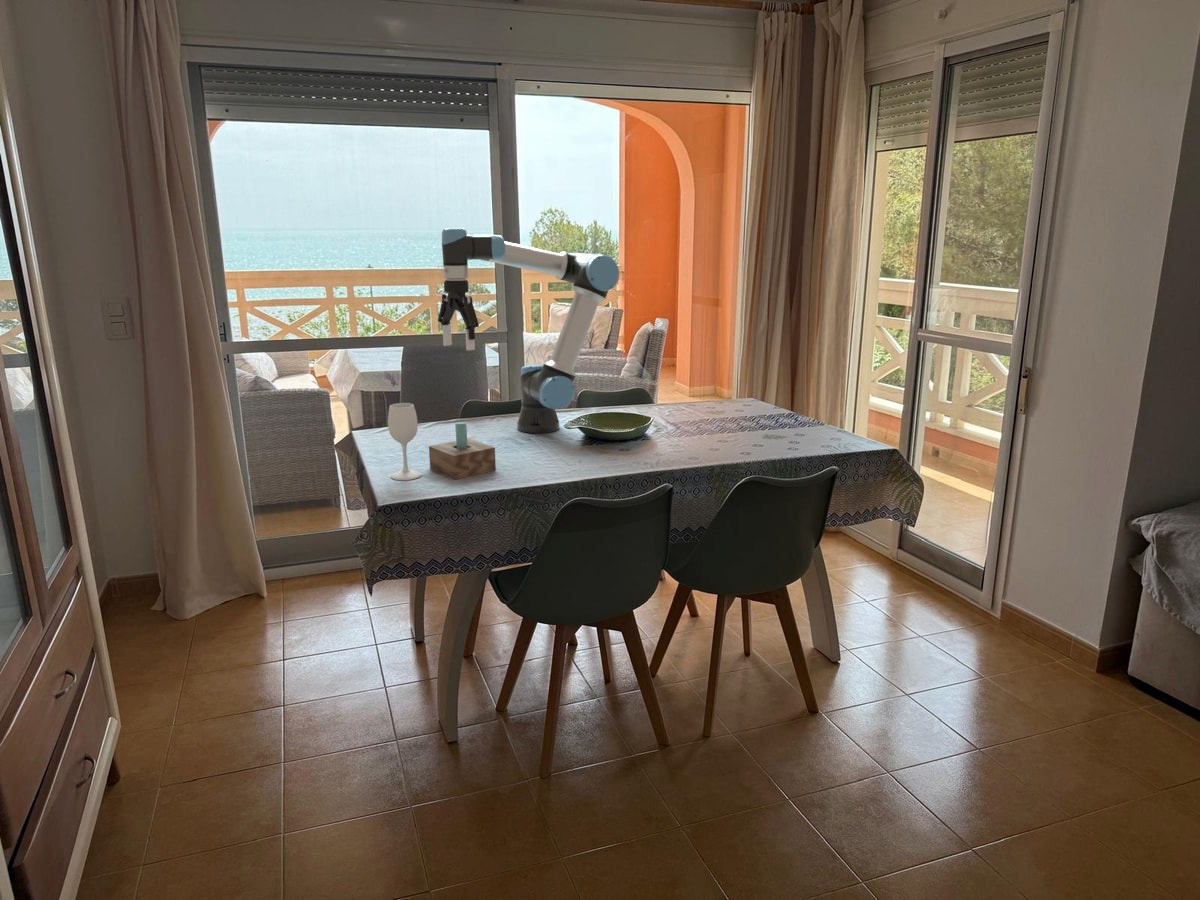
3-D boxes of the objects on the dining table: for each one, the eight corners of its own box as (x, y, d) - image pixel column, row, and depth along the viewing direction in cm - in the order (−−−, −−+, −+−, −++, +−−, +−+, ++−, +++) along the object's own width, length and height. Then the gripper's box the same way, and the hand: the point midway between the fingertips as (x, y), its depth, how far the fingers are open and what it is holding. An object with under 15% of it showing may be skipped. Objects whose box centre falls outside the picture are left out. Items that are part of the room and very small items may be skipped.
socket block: (470, 460, 248) (469, 438, 246) (495, 470, 238) (494, 447, 236) (430, 468, 239) (428, 446, 238) (455, 479, 229) (453, 455, 227)
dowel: (464, 461, 240) (462, 421, 237) (470, 463, 238) (468, 423, 235) (455, 463, 238) (453, 423, 235) (461, 464, 236) (459, 425, 233)
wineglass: (423, 471, 237) (419, 402, 231) (418, 480, 228) (414, 408, 223) (394, 471, 236) (389, 402, 231) (387, 480, 228) (382, 408, 222)
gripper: (425, 278, 256) (428, 344, 262) (467, 282, 238) (470, 353, 244) (445, 277, 261) (448, 342, 266) (488, 281, 243) (490, 350, 248)
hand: (458, 347), depth 255 cm, fingers open, 13 cm apart
